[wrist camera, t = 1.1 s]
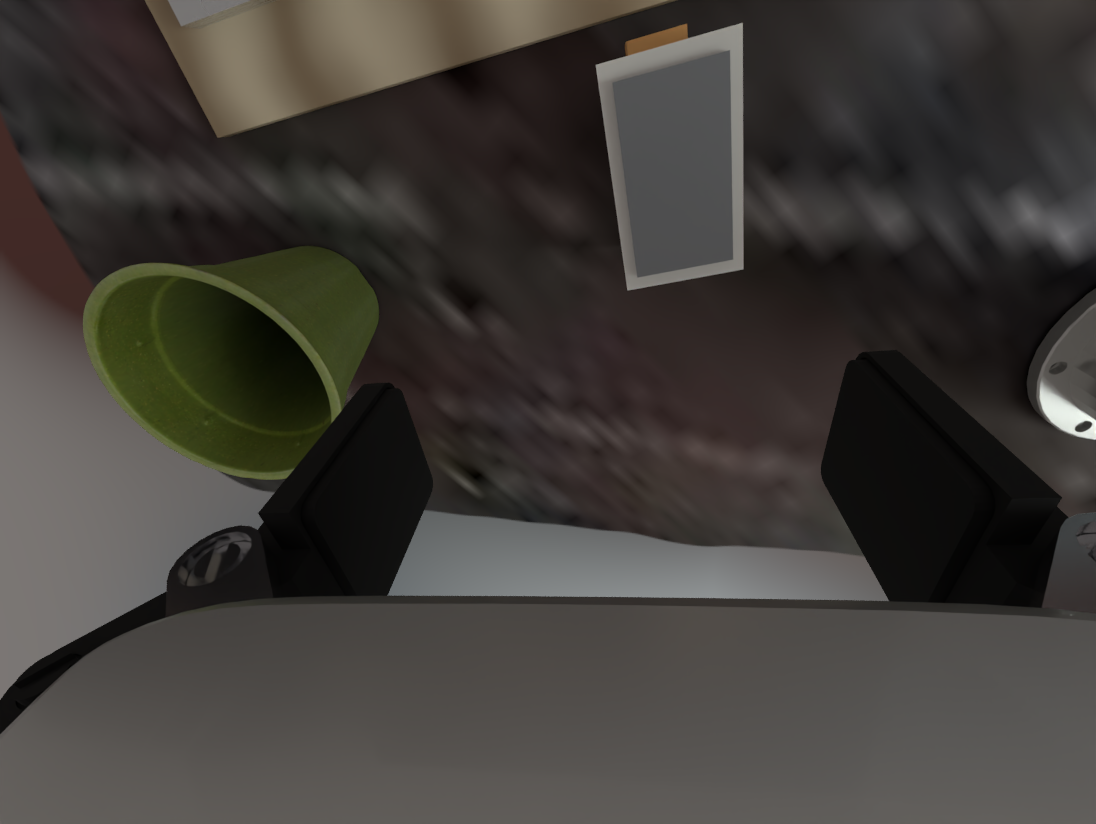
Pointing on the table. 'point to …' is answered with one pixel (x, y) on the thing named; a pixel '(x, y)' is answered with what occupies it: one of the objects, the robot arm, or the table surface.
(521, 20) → the rail board
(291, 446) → the plant pot
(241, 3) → the rail
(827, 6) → the table surface
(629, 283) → the box
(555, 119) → the table surface
